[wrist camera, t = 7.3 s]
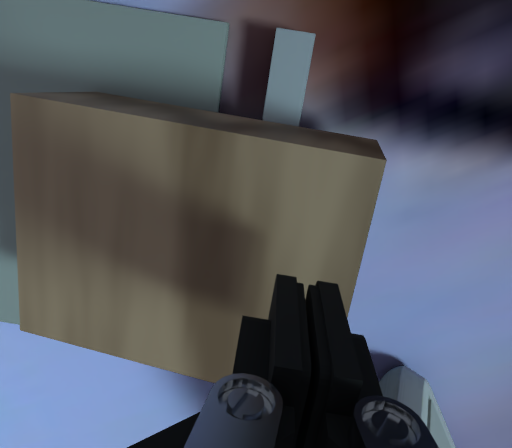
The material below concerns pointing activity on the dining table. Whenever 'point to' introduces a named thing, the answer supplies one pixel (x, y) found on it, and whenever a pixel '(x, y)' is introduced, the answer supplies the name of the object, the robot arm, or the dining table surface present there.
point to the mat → (96, 76)
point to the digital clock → (417, 401)
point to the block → (176, 222)
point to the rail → (288, 76)
